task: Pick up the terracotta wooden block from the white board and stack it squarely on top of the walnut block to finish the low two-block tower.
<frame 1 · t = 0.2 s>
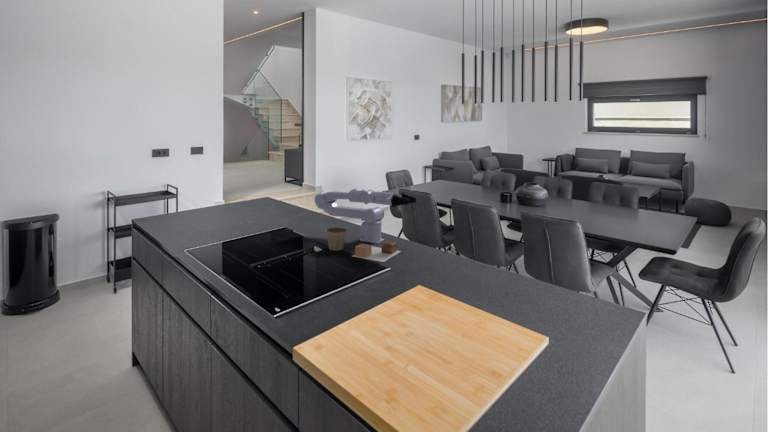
hand: (412, 201, 189), 21 cm above the worktop, tool horizontal, fingers open, 7 cm apart
terracotta block: (363, 254, 180), resting on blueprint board
walnut block: (389, 251, 185), resting on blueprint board
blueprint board: (376, 254, 182), on the worktop
flower pot: (336, 249, 188), on the worktop
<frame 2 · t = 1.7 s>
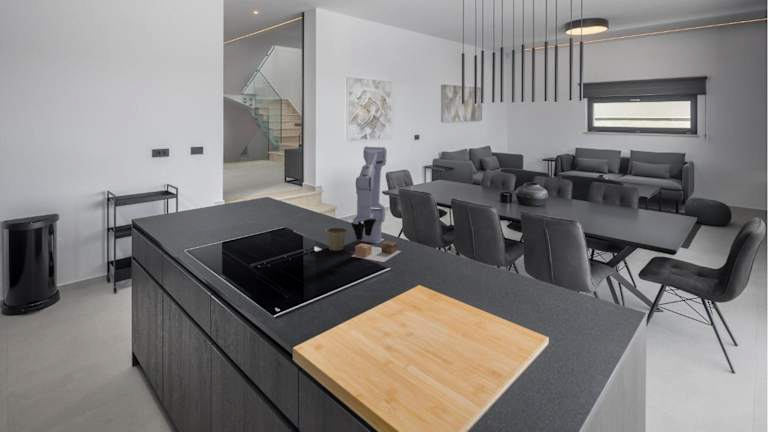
hand: (363, 237, 178), 8 cm above the worktop, tool pointing down, fingers open, 7 cm apart
nothing on the worktop moved.
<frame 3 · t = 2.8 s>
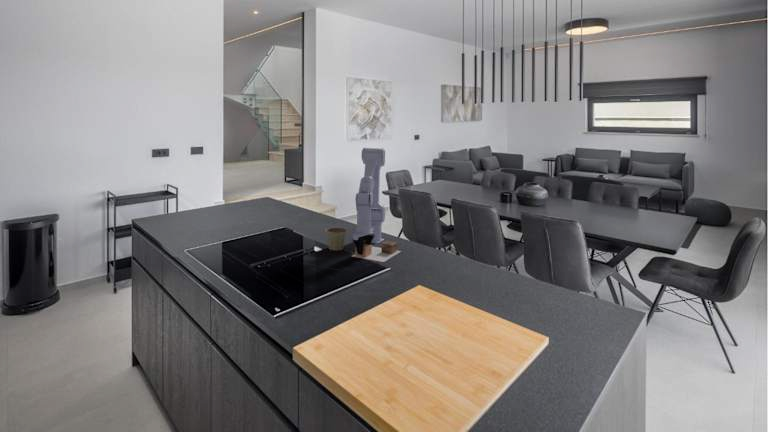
hand: (363, 252, 179), 1 cm above the worktop, tool pointing down, fingers closed on terracotta block, 5 cm apart
terracotta block: (363, 254, 180), resting on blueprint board, touching gripper
everything else where it was.
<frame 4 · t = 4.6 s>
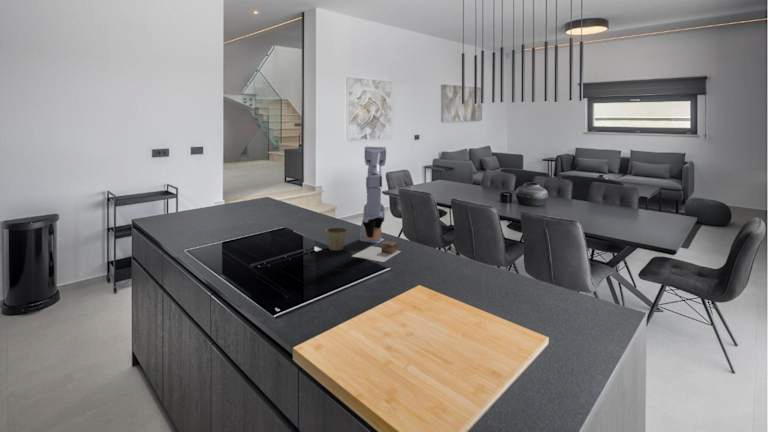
hand: (373, 235, 180), 8 cm above the worktop, tool pointing down, fingers closed on terracotta block, 5 cm apart
terracotta block: (372, 238, 180), point 7 cm above the worktop, touching gripper
everything else where it was.
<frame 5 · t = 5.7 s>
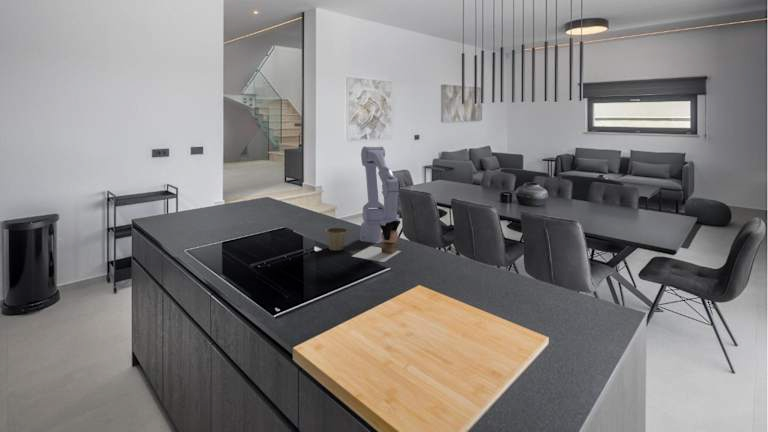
hand: (389, 238, 184), 6 cm above the worktop, tool pointing down, fingers closed on terracotta block, 5 cm apart
terracotta block: (389, 240, 184), point 5 cm above the worktop, touching gripper
everything else where it was.
when the fingers open (6 cm above the worktop, at t = 6.4 s): terracotta block moves 1 cm, resting on walnut block.
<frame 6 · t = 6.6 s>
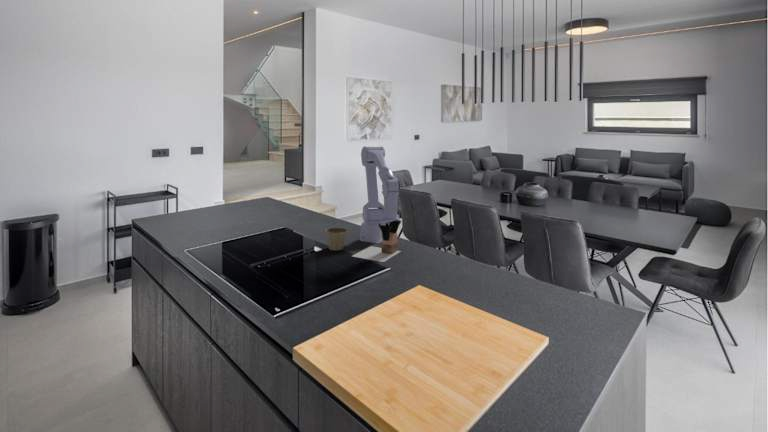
hand: (389, 238, 184), 6 cm above the worktop, tool pointing down, fingers open, 6 cm apart
terracotta block: (389, 243, 184), point 4 cm above the worktop, touching walnut block
walnut block: (389, 251, 185), resting on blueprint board, touching terracotta block
everything else where it was.
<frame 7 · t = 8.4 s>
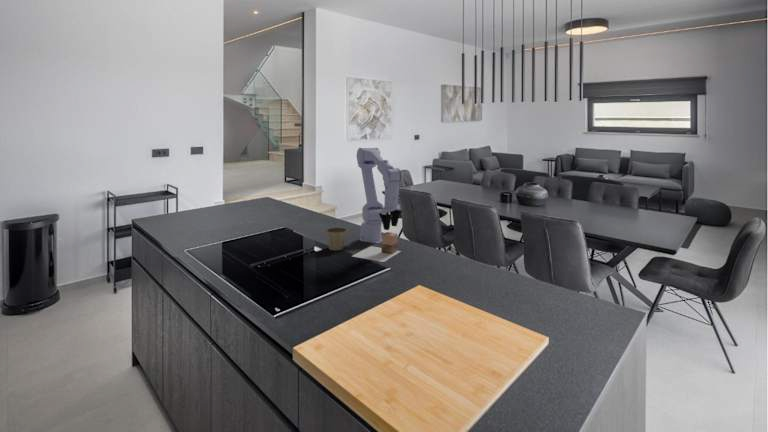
hand: (390, 227, 186), 10 cm above the worktop, tool pointing down, fingers open, 7 cm apart
nothing on the worktop moved.
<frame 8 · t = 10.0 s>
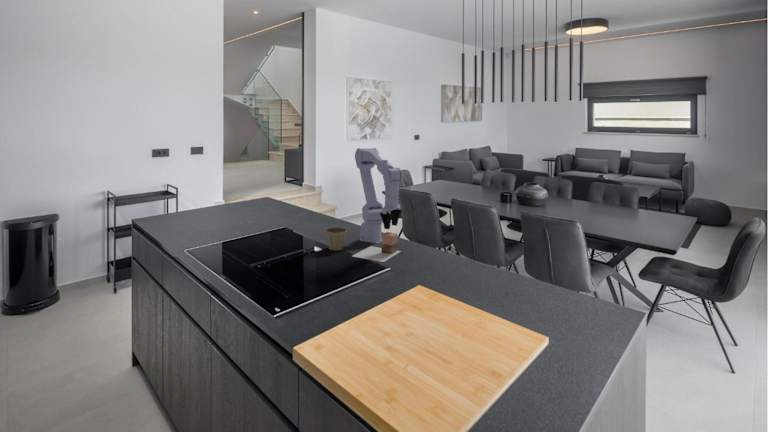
hand: (390, 227, 187), 10 cm above the worktop, tool pointing down, fingers open, 7 cm apart
nothing on the worktop moved.
at the end: terracotta block 0.1 cm off-centre on the walnut block, point 4.0 cm above the walnut block's base; terracotta block tilted 0°; the gripper is holding nothing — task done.
